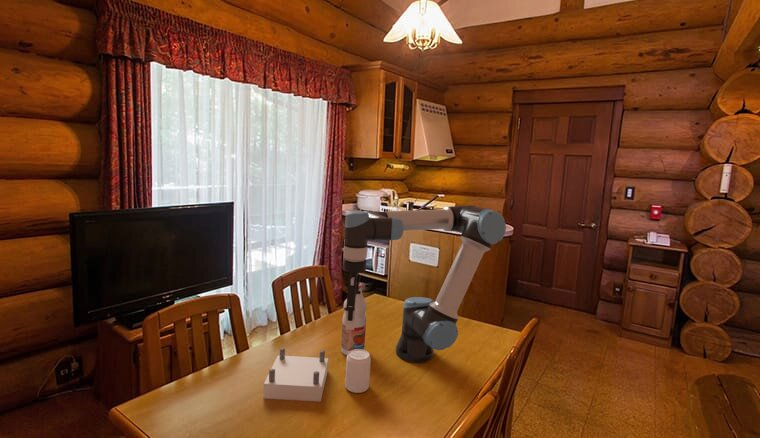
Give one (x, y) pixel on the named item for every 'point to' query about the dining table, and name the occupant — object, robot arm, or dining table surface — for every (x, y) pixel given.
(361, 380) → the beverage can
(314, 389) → the peg stand
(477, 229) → the robot arm
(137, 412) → the dining table surface
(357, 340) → the fruit juice
